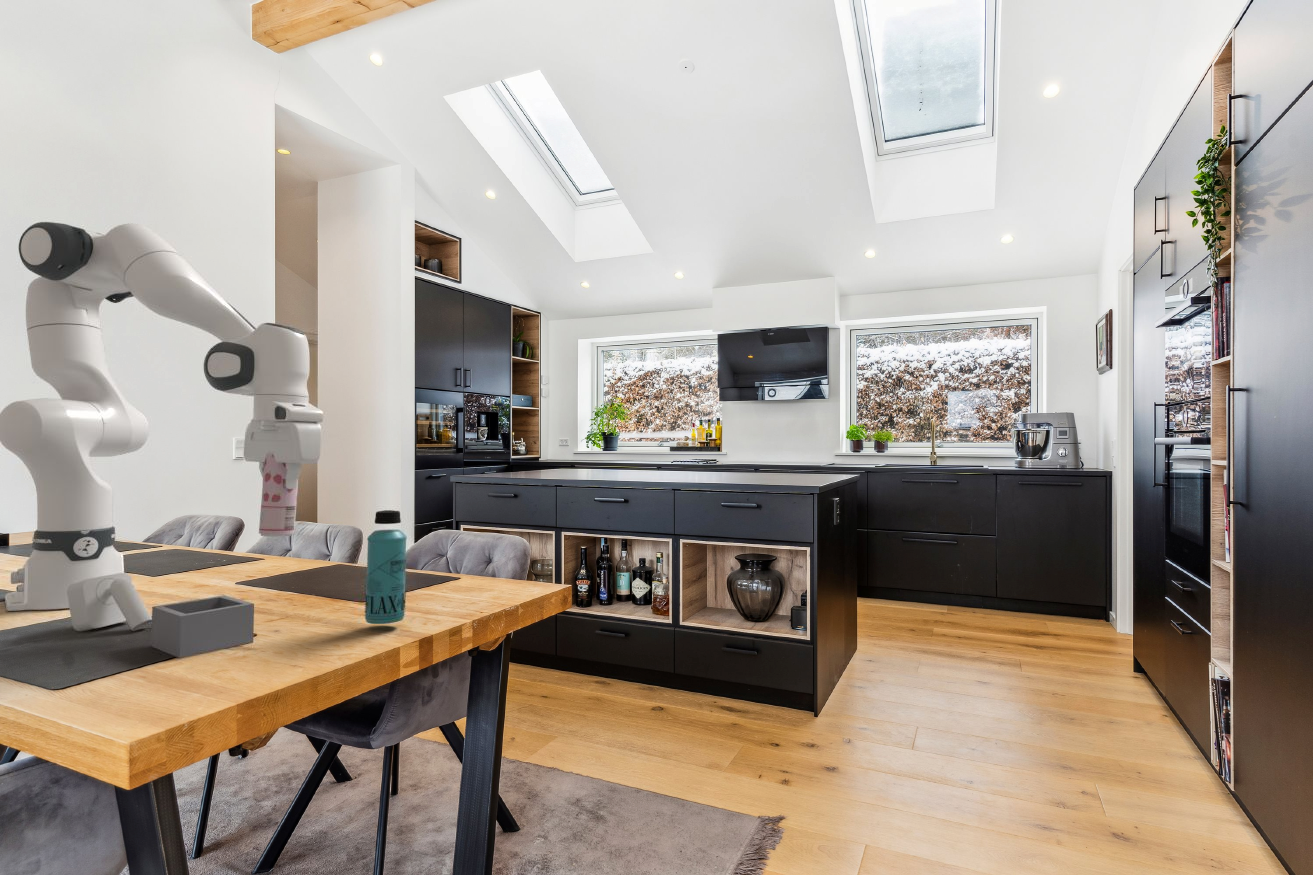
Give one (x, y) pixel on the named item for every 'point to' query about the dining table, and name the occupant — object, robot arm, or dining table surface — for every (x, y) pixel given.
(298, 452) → the robot arm
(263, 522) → the beverage can
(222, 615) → the open box
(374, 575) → the beverage bottle
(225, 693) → the dining table surface
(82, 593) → the wall hook
